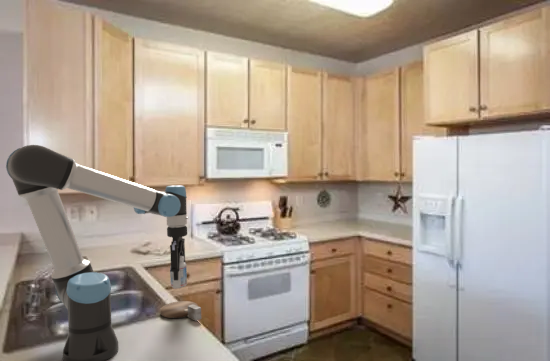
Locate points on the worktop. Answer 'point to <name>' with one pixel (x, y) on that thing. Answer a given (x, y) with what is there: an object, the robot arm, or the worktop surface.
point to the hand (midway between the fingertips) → (179, 285)
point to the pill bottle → (181, 273)
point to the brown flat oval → (181, 310)
